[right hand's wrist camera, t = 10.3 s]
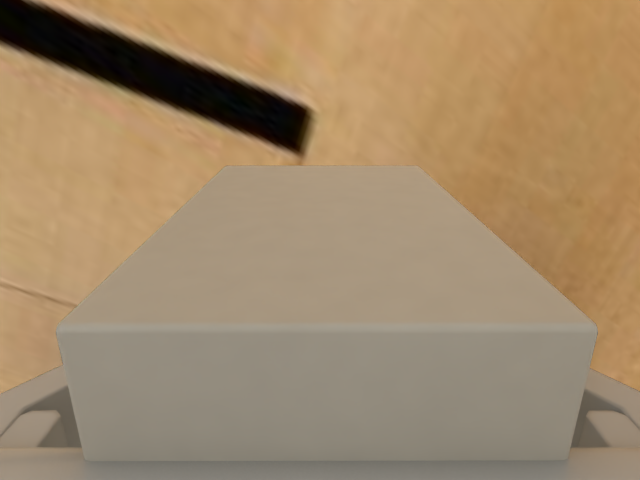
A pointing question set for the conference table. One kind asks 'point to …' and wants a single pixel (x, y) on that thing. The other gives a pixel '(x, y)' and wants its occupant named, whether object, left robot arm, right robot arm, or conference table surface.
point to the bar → (325, 330)
